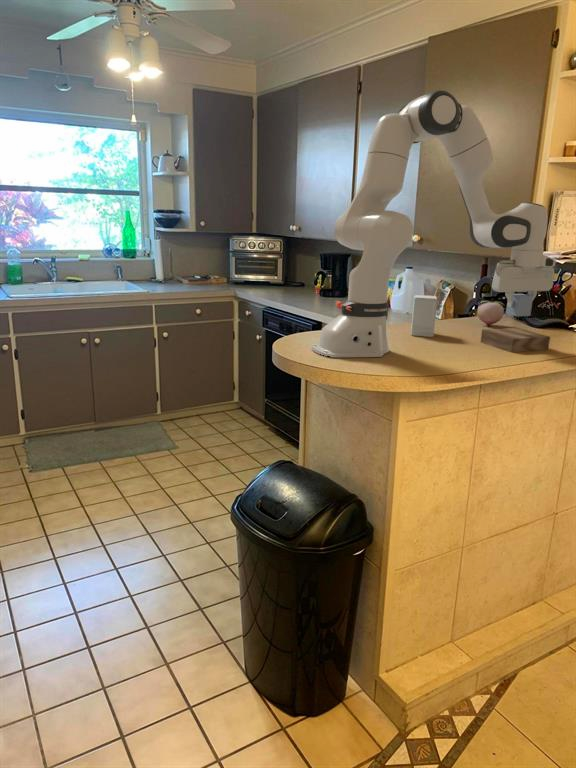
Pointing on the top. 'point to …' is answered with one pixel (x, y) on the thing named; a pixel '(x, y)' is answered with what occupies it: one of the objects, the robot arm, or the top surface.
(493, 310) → the decorative fruit
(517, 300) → the slate block
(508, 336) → the walnut base
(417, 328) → the supplement box
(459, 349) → the top surface
